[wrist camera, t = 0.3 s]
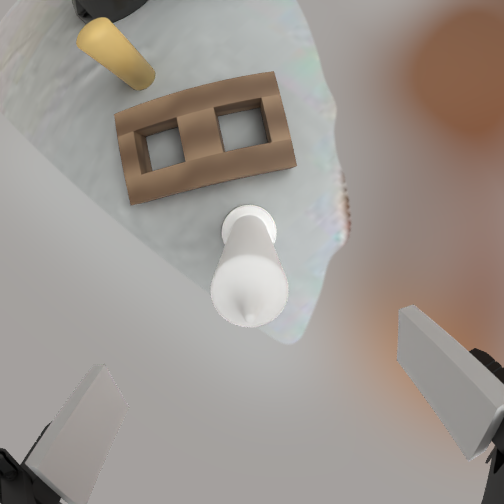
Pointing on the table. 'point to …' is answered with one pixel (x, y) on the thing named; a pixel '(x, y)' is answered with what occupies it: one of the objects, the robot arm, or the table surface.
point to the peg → (115, 53)
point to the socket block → (203, 137)
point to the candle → (249, 270)
